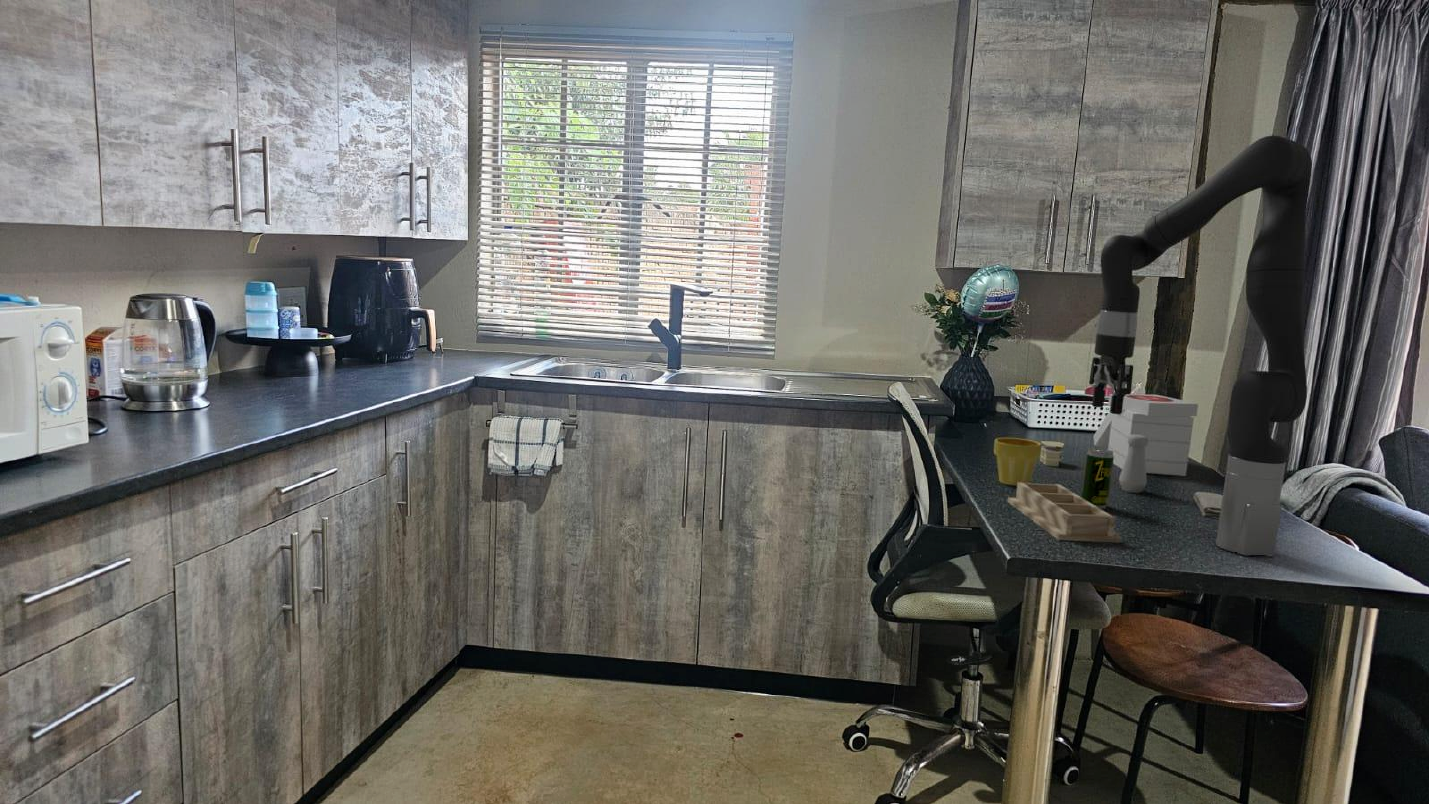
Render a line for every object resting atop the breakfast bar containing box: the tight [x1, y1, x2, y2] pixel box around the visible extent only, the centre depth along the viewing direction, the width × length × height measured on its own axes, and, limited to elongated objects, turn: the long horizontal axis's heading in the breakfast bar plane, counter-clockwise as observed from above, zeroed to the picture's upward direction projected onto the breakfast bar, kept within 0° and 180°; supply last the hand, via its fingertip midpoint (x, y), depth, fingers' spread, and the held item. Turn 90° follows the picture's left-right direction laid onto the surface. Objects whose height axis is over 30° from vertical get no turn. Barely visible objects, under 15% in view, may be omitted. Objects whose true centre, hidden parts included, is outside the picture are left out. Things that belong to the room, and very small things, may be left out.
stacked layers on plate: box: [1039, 440, 1065, 467], centre depth 251 cm, size 10×9×6 cm
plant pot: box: [993, 437, 1042, 487], centre depth 224 cm, size 10×10×10 cm
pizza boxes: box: [1093, 393, 1199, 477], centre depth 258 cm, size 19×30×18 cm, turn 176°
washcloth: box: [1192, 491, 1223, 520], centre depth 211 cm, size 12×18×3 cm, turn 161°
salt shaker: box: [1118, 434, 1148, 494], centre depth 224 cm, size 6×6×13 cm
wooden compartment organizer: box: [1007, 482, 1123, 544], centre depth 193 cm, size 27×12×4 cm, turn 3°
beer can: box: [1080, 447, 1114, 510], centre depth 207 cm, size 5×5×12 cm
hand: (1106, 410), depth 205 cm, fingers open, 8 cm apart
